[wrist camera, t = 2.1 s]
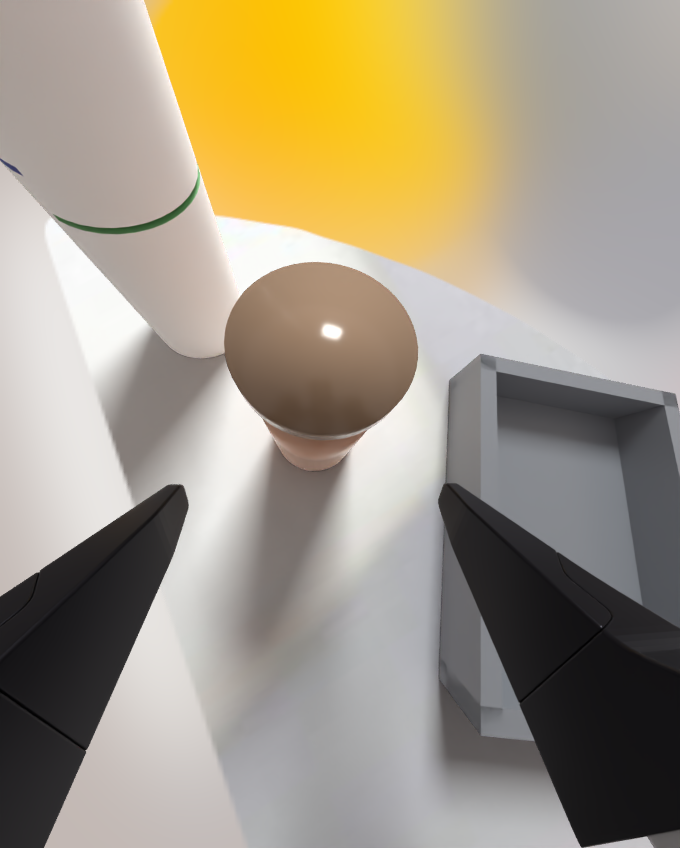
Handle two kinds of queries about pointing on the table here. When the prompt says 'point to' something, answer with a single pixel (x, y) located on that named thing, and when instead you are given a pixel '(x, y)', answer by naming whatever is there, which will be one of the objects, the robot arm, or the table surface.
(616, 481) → the tray
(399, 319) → the brown tapered round piece
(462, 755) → the table surface
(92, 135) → the cylindrical container
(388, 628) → the table surface
